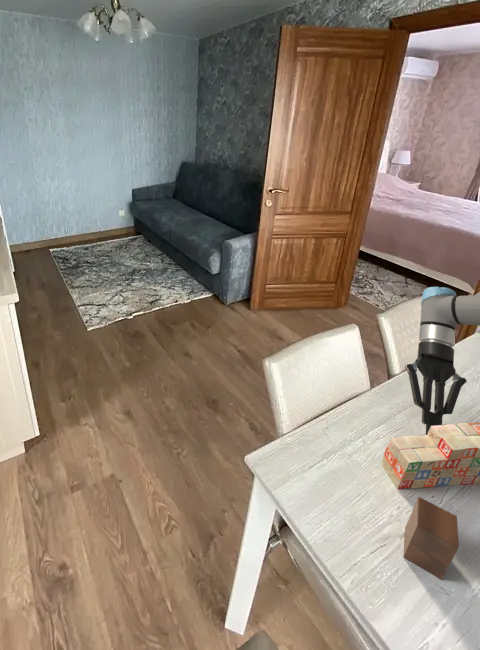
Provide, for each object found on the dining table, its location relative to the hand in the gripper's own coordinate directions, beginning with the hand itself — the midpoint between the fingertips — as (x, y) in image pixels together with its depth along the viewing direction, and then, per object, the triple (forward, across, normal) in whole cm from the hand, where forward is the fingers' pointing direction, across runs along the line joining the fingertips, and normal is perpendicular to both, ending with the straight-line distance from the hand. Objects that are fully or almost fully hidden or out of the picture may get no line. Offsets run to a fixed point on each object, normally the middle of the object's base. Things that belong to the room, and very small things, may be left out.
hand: (430, 440), depth 83 cm
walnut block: (+21, +4, +14) cm, 25 cm away
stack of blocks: (+7, 0, 0) cm, 7 cm away
